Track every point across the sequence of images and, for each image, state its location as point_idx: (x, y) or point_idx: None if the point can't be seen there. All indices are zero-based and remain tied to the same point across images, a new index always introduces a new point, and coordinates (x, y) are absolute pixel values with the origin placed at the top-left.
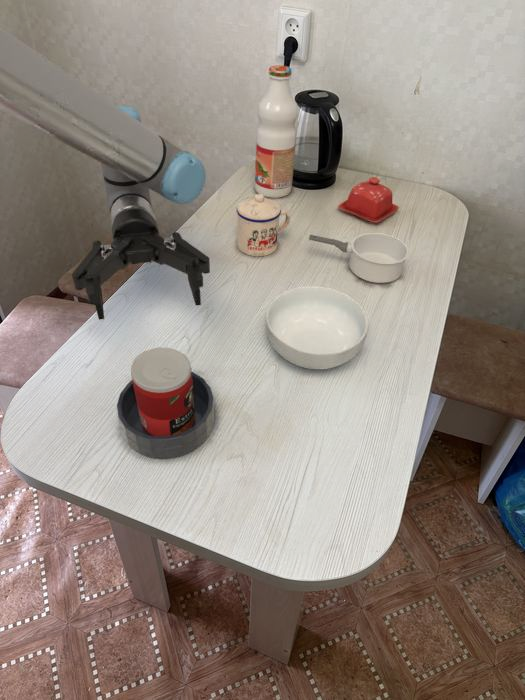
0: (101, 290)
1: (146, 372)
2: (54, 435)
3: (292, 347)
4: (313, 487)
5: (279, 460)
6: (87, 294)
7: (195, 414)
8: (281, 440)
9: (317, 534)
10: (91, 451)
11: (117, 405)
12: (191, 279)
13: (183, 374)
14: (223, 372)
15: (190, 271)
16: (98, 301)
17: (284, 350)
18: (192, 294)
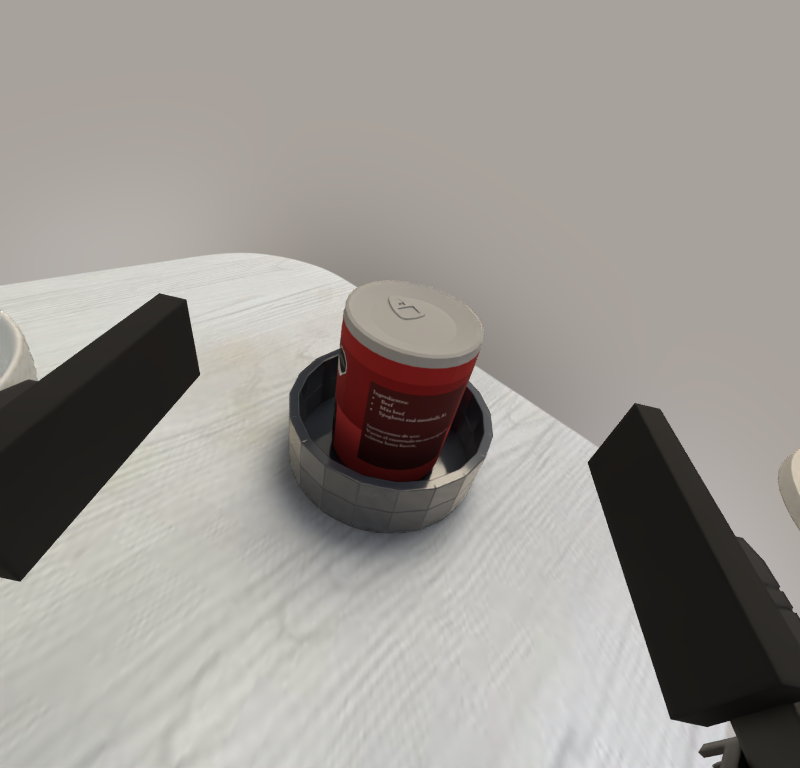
0: (675, 693)
1: (448, 325)
2: (598, 510)
3: (20, 342)
4: (247, 299)
5: (256, 331)
6: (744, 546)
7: (329, 433)
8: (227, 347)
9: (285, 277)
10: (524, 452)
11: (491, 433)
12: (116, 355)
13: (373, 291)
14: (190, 513)
15: (29, 414)
16: (651, 419)
17: (30, 378)
18: (147, 434)
